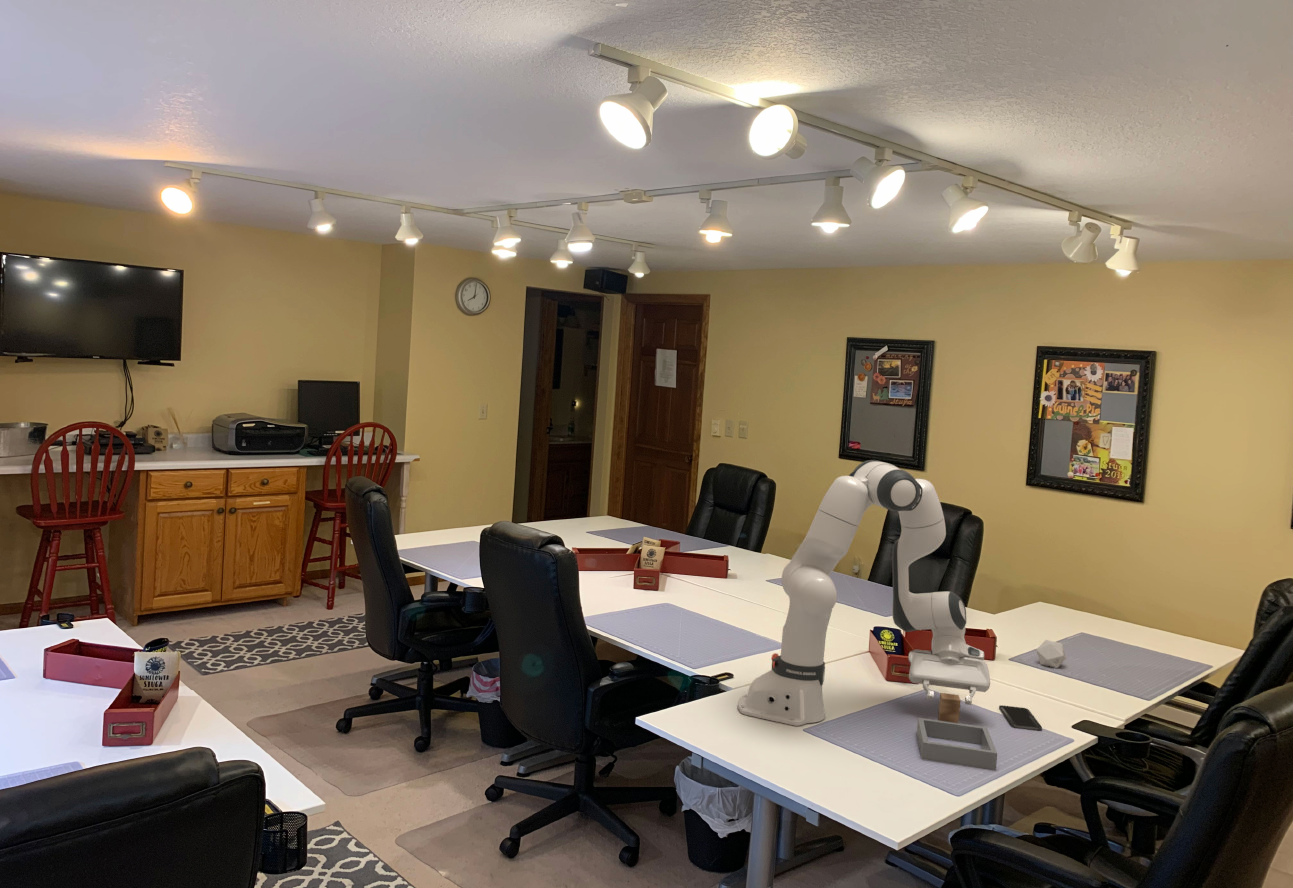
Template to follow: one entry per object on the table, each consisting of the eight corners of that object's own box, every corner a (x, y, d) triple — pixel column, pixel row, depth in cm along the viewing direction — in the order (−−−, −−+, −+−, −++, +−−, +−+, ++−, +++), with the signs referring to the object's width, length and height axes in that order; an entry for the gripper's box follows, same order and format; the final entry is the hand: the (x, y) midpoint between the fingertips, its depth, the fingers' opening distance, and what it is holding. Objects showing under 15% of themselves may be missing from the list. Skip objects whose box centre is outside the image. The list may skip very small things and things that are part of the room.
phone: (1011, 724, 238) (998, 704, 253) (1011, 729, 238) (997, 708, 253) (1043, 728, 237) (1028, 708, 252) (1043, 732, 237) (1027, 711, 252)
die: (1048, 672, 291) (1070, 650, 289) (1027, 652, 296) (1048, 631, 295) (1053, 676, 297) (1075, 655, 296) (1033, 656, 302) (1054, 636, 301)
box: (921, 758, 213) (923, 742, 213) (916, 732, 229) (918, 717, 229) (995, 770, 210) (997, 753, 210) (985, 742, 226) (986, 727, 226)
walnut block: (939, 728, 234) (942, 698, 233) (937, 722, 238) (940, 692, 237) (957, 731, 233) (960, 700, 232) (955, 724, 237) (958, 694, 236)
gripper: (909, 642, 245) (909, 689, 236) (990, 652, 241) (992, 701, 232) (907, 654, 250) (906, 700, 241) (986, 663, 245) (988, 712, 237)
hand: (949, 701), depth 236 cm, fingers open, 8 cm apart
